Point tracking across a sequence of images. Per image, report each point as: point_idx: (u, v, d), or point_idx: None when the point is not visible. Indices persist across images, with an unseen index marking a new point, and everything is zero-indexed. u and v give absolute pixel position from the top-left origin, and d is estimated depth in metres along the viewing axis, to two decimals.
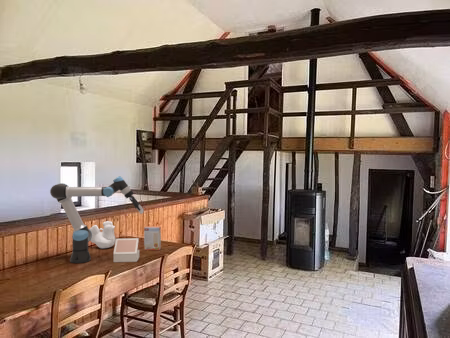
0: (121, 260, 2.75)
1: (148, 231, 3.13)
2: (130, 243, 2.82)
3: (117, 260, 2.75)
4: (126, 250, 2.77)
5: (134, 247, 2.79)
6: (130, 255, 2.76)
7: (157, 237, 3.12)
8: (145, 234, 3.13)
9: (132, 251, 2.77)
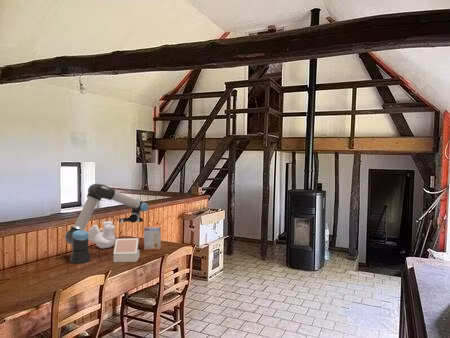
0: (121, 260, 2.75)
1: (148, 231, 3.13)
2: (130, 243, 2.82)
3: (117, 260, 2.75)
4: (126, 250, 2.77)
5: (134, 247, 2.79)
6: (130, 255, 2.76)
7: (157, 237, 3.12)
8: (145, 234, 3.13)
9: (132, 251, 2.77)
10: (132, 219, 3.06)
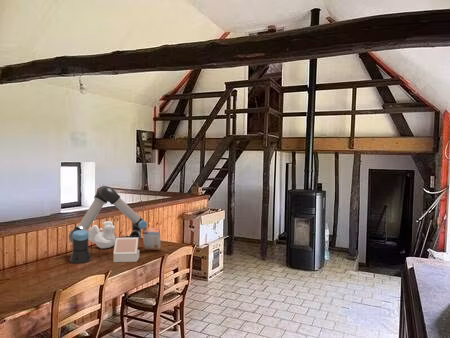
0: (121, 260, 2.75)
1: (147, 234, 3.04)
2: (130, 242, 2.81)
3: (117, 260, 2.75)
4: (126, 249, 2.77)
5: (134, 247, 2.79)
6: (130, 255, 2.76)
7: (157, 240, 3.06)
8: (144, 237, 3.06)
9: (132, 251, 2.77)
10: (133, 237, 2.98)
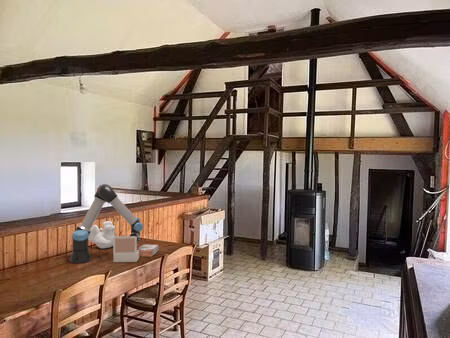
0: (121, 260, 2.75)
1: None
2: (129, 242, 2.75)
3: (117, 260, 2.75)
4: (126, 250, 2.75)
5: (133, 247, 2.75)
6: (130, 255, 2.76)
7: None
8: None
9: (132, 251, 2.75)
10: None
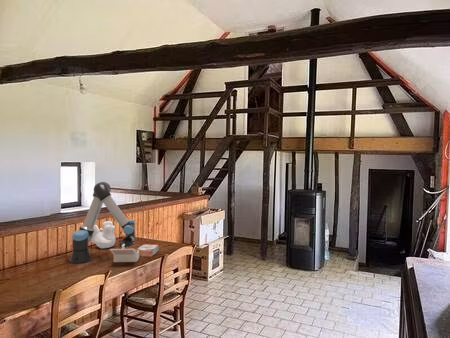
0: (121, 260, 2.75)
1: None
2: (127, 251, 2.67)
3: (117, 260, 2.75)
4: (125, 253, 2.72)
5: (132, 252, 2.71)
6: (130, 255, 2.76)
7: None
8: None
9: (131, 253, 2.74)
10: (126, 243, 2.79)
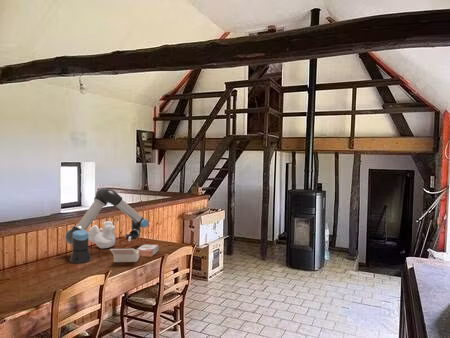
0: (121, 260, 2.75)
1: None
2: (127, 251, 2.67)
3: (117, 260, 2.75)
4: (125, 253, 2.72)
5: (132, 252, 2.71)
6: (130, 255, 2.76)
7: None
8: None
9: (131, 253, 2.74)
10: None
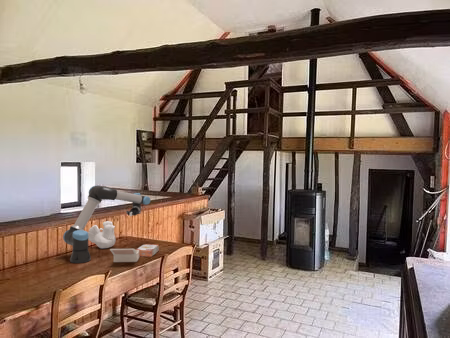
0: (121, 260, 2.75)
1: None
2: (127, 251, 2.67)
3: (117, 260, 2.75)
4: (125, 253, 2.72)
5: (132, 252, 2.71)
6: (130, 255, 2.76)
7: None
8: None
9: (131, 253, 2.74)
10: (133, 212, 3.13)
